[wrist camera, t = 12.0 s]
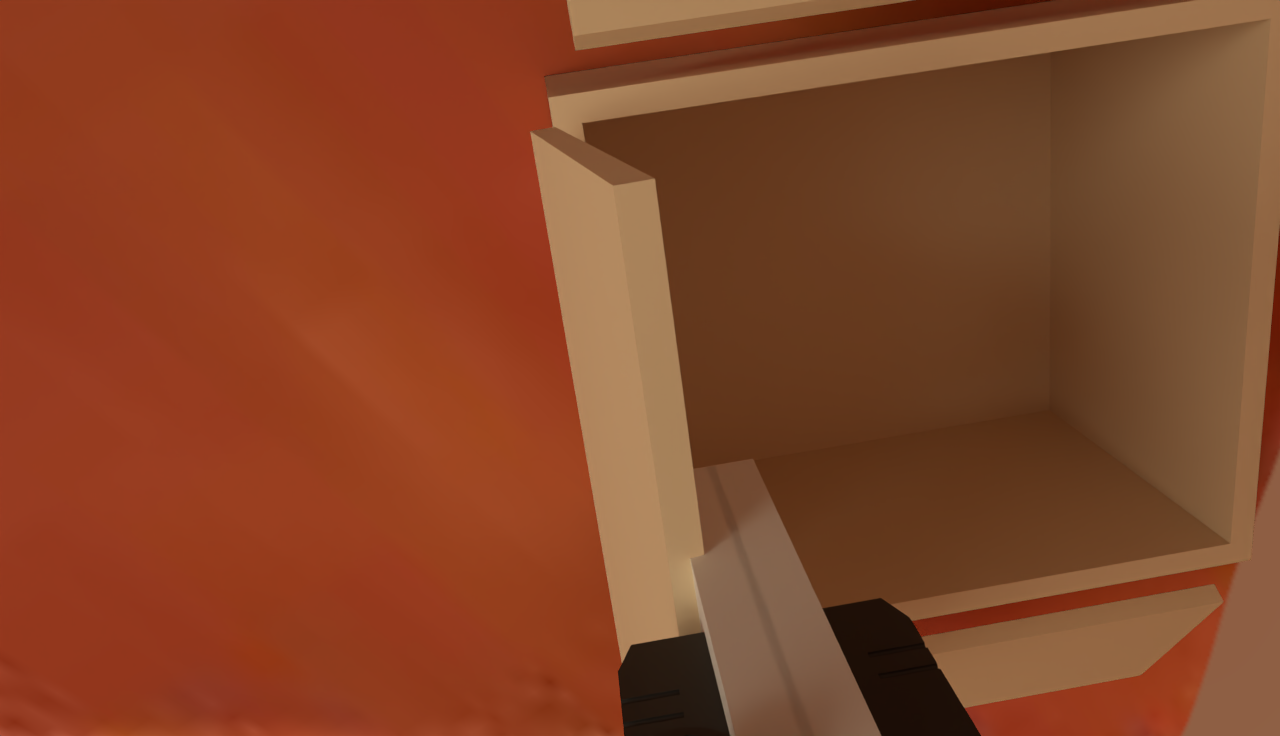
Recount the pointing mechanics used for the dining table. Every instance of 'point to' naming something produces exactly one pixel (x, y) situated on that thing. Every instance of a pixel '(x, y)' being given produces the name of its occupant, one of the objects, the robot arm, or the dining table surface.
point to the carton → (973, 285)
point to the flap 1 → (625, 381)
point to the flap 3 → (1067, 646)
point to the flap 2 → (686, 16)
